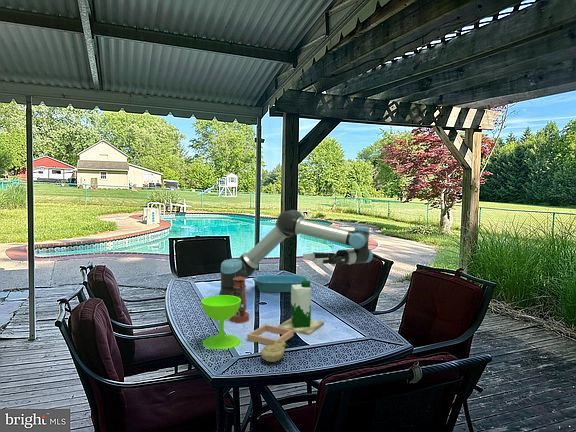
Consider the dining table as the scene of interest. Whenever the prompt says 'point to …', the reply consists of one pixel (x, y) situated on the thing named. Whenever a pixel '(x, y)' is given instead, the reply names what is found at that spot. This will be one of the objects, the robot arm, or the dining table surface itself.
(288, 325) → the board
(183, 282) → the dining table surface
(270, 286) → the casserole dish
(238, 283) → the lantern
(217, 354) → the dining table surface
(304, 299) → the green white milk carton
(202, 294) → the dining table surface
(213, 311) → the wineglass
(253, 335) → the holder
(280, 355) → the oil lamp
